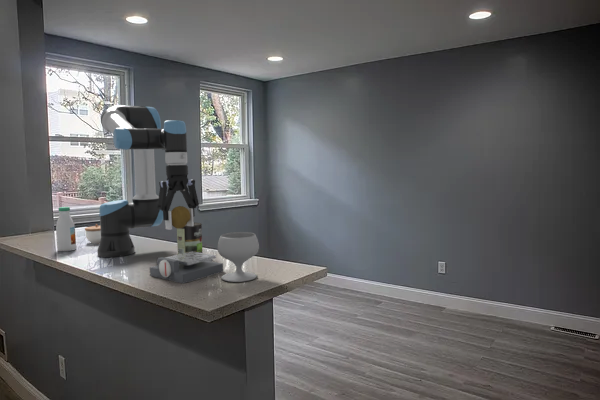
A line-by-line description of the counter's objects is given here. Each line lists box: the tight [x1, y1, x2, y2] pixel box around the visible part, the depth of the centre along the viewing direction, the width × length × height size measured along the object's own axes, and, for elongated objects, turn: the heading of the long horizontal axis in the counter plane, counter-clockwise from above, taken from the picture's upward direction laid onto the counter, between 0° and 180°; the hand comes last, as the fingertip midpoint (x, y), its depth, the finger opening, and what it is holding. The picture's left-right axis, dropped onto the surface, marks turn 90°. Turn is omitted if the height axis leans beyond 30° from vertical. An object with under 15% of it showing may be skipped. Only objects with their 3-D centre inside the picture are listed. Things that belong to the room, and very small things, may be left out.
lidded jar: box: [84, 223, 101, 244], centre depth 218 cm, size 11×11×9 cm
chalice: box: [217, 231, 260, 283], centre depth 147 cm, size 14×14×15 cm
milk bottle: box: [55, 206, 77, 252], centre depth 199 cm, size 8×8×20 cm
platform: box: [164, 251, 217, 265], centre depth 155 cm, size 13×13×1 cm
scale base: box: [149, 256, 224, 284], centre depth 154 cm, size 18×19×7 cm
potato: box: [170, 205, 190, 230], centre depth 155 cm, size 7×8×8 cm
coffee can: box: [176, 222, 204, 255], centre depth 180 cm, size 10×10×14 cm
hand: (179, 227), depth 155 cm, fingers closed on potato, 9 cm apart
